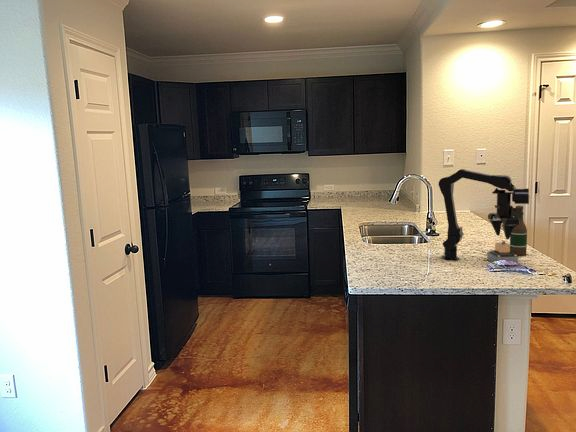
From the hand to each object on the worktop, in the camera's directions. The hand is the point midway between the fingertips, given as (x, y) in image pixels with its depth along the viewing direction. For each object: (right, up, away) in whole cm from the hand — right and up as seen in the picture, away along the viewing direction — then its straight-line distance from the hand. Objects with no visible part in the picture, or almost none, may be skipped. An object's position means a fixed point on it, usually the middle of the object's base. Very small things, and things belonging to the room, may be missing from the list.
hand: (502, 237), depth 215 cm
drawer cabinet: (0, -12, +2) cm, 12 cm away
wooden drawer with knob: (0, -11, +2) cm, 11 cm away
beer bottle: (+15, -9, +16) cm, 23 cm away
